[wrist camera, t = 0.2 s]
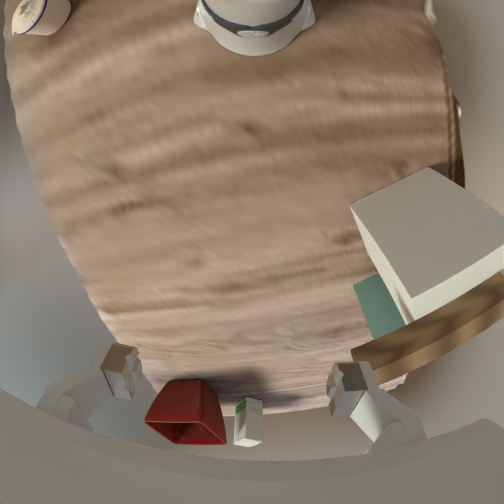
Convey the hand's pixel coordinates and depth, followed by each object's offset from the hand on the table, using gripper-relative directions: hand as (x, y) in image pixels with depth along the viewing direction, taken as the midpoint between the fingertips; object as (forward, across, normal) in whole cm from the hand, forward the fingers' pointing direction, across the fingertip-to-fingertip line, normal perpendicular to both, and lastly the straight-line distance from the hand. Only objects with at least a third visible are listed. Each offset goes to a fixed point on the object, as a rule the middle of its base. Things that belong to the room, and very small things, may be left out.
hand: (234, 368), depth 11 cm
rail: (+15, -23, +9) cm, 29 cm away
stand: (+40, -29, +3) cm, 49 cm away
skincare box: (+48, -5, +73) cm, 88 cm away
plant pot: (+47, +14, +68) cm, 84 cm away
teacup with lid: (+36, +42, -35) cm, 66 cm away
